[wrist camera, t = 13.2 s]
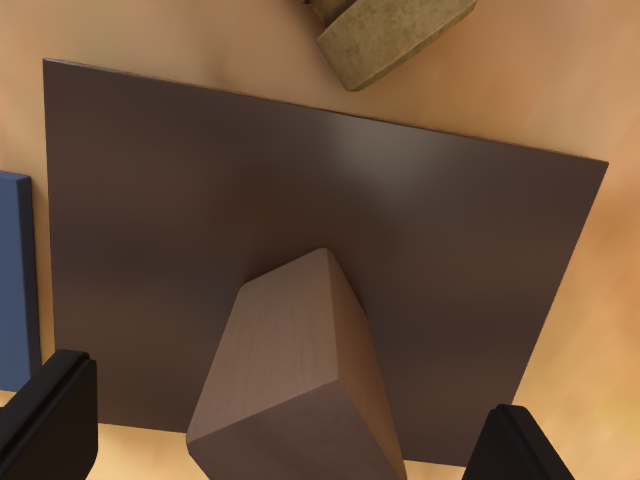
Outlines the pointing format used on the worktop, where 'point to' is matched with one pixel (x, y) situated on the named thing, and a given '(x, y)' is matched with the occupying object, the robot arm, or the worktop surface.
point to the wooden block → (296, 385)
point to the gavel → (380, 33)
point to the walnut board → (298, 242)
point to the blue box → (17, 285)
